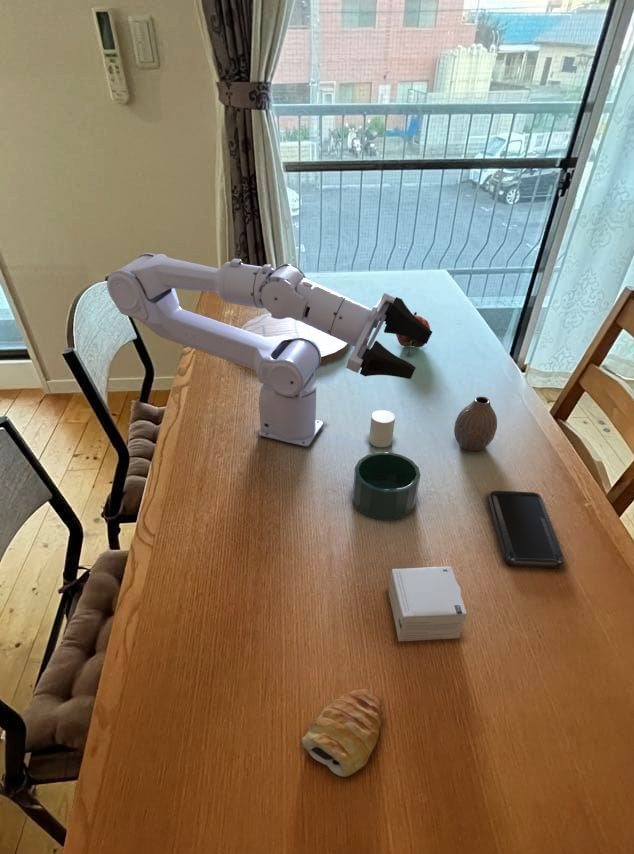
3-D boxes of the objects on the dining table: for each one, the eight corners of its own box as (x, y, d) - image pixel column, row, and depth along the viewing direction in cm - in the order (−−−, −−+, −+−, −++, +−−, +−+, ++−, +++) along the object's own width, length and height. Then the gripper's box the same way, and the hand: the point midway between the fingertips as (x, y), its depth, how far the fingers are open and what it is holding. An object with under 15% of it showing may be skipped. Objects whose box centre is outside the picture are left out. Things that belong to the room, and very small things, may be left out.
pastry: (344, 685, 63) (347, 666, 60) (397, 716, 61) (401, 699, 58) (297, 750, 58) (297, 733, 55) (352, 788, 55) (354, 773, 52)
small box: (386, 593, 73) (391, 567, 69) (445, 591, 73) (453, 564, 70) (397, 642, 67) (402, 617, 64) (460, 640, 68) (469, 614, 64)
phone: (507, 560, 76) (489, 490, 86) (505, 566, 76) (487, 495, 87) (566, 563, 75) (540, 492, 86) (563, 569, 76) (538, 497, 87)
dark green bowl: (344, 510, 84) (346, 482, 81) (363, 474, 91) (366, 446, 87) (405, 526, 82) (410, 498, 78) (421, 488, 88) (426, 460, 84)
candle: (366, 444, 97) (368, 419, 93) (373, 432, 99) (375, 408, 96) (388, 449, 96) (391, 424, 92) (394, 437, 98) (397, 412, 95)
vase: (491, 458, 94) (505, 413, 88) (450, 453, 95) (460, 408, 89) (490, 435, 99) (503, 391, 93) (451, 431, 100) (461, 387, 94)
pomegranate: (426, 364, 122) (437, 323, 123) (421, 347, 115) (433, 303, 116) (393, 361, 125) (405, 320, 126) (387, 344, 118) (399, 301, 119)
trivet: (249, 374, 114) (248, 365, 113) (232, 323, 131) (231, 315, 130) (364, 361, 118) (365, 352, 117) (333, 313, 136) (334, 306, 134)
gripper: (324, 330, 76) (414, 372, 76) (362, 264, 82) (446, 302, 81) (316, 364, 82) (398, 403, 82) (352, 300, 88) (429, 336, 88)
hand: (421, 355), depth 82 cm, fingers open, 7 cm apart
